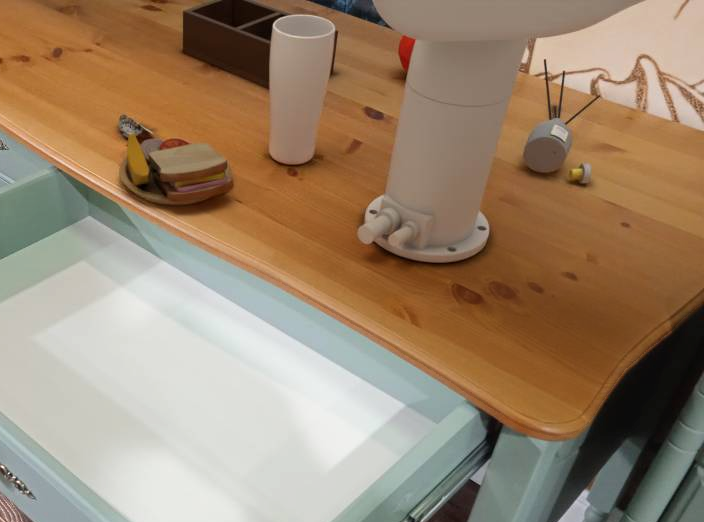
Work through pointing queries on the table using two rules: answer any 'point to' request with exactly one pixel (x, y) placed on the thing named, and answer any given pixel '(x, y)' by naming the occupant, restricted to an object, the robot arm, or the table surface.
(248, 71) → the divided wooden box
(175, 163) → the toy sandwich meal
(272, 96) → the tall white cup
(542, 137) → the reed diffuser
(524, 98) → the table surface
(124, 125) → the silver ridged wedge
